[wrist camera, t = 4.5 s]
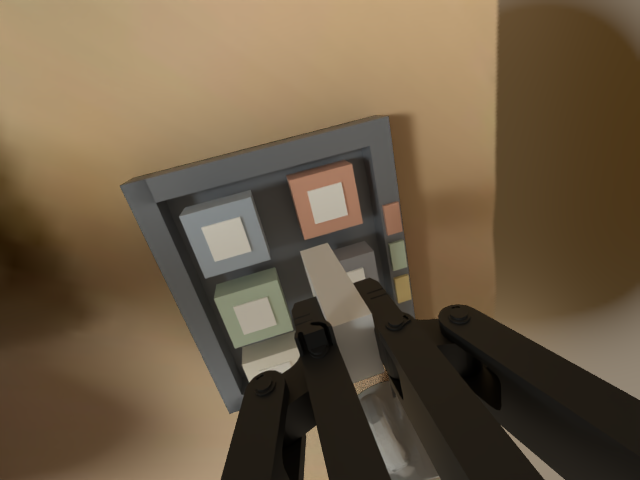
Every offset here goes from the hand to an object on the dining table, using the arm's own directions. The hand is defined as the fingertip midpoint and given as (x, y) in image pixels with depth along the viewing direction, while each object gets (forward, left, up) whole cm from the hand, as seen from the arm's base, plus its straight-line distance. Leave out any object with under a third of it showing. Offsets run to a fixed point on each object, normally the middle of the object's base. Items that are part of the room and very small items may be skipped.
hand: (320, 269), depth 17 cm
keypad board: (-1, -5, -10) cm, 11 cm away
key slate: (-5, +1, -7) cm, 9 cm away
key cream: (-5, -11, -7) cm, 14 cm away
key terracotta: (+2, +1, -8) cm, 9 cm away
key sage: (-5, -5, -7) cm, 10 cm away
